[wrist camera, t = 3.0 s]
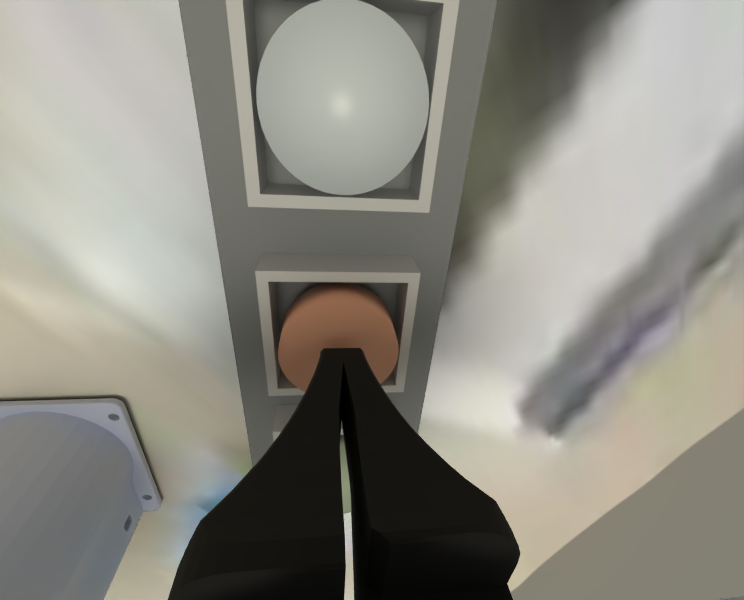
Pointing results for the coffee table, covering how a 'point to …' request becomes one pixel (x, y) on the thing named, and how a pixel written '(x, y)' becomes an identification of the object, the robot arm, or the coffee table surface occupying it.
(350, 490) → the robot arm
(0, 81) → the coffee table surface
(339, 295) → the terracotta button
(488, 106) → the coffee table surface
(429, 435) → the coffee table surface
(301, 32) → the blue-grey button
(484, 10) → the button panel
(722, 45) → the coffee table surface
